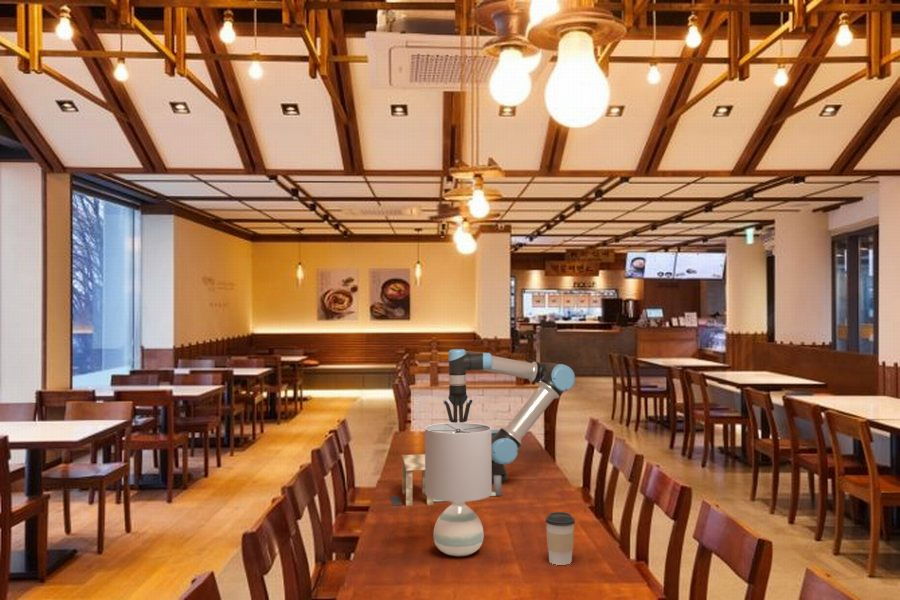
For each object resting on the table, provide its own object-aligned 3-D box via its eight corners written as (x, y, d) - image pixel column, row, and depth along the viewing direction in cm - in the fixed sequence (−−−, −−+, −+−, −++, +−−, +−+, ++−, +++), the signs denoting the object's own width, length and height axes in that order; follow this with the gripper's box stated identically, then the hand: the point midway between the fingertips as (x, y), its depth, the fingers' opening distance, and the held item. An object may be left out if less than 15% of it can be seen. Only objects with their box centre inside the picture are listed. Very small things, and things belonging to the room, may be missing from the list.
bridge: (427, 491, 317) (427, 454, 317) (433, 505, 293) (433, 465, 293) (402, 492, 315) (402, 455, 316) (406, 506, 292) (406, 466, 292)
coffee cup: (543, 557, 231) (542, 510, 232) (571, 556, 232) (570, 509, 232) (549, 567, 222) (549, 518, 223) (578, 566, 223) (578, 517, 223)
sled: (498, 490, 316) (498, 472, 316) (504, 498, 303) (504, 479, 303) (427, 493, 312) (426, 474, 312) (430, 501, 298) (430, 482, 298)
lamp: (440, 567, 223) (440, 435, 223) (415, 546, 243) (415, 425, 243) (503, 557, 231) (503, 430, 232) (474, 538, 251) (473, 421, 252)
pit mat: (399, 496, 308) (399, 495, 308) (402, 505, 294) (402, 504, 294) (390, 496, 308) (390, 496, 308) (392, 505, 294) (392, 505, 294)
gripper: (469, 383, 326) (470, 435, 326) (441, 384, 323) (442, 437, 323) (474, 384, 319) (475, 438, 318) (445, 385, 316) (446, 440, 315)
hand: (458, 438), depth 320 cm, fingers closed
